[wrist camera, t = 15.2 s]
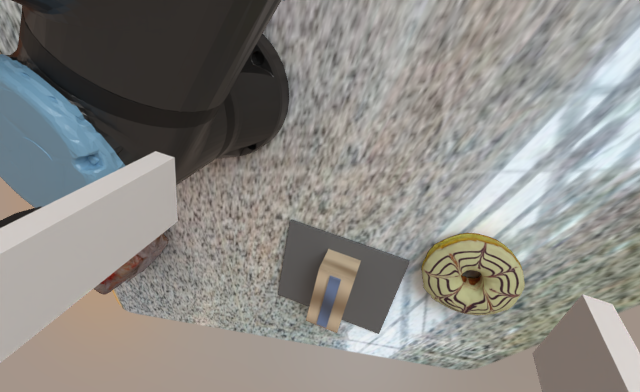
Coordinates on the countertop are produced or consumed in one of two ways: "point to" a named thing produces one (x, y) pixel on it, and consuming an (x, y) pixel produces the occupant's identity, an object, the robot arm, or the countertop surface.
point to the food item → (133, 265)
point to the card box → (332, 290)
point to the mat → (370, 282)
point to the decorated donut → (473, 293)
